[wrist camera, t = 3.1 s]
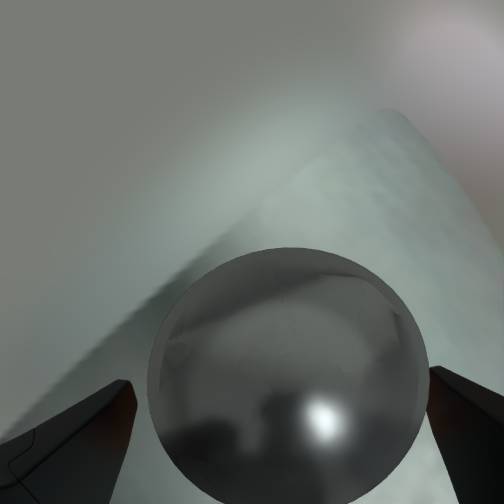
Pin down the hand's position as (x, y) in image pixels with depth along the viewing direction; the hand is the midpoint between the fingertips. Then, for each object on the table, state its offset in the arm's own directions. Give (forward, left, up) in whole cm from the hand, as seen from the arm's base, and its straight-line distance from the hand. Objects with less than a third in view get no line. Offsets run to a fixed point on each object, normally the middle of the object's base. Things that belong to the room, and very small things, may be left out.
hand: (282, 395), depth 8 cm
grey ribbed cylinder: (0, 0, -3) cm, 3 cm away
